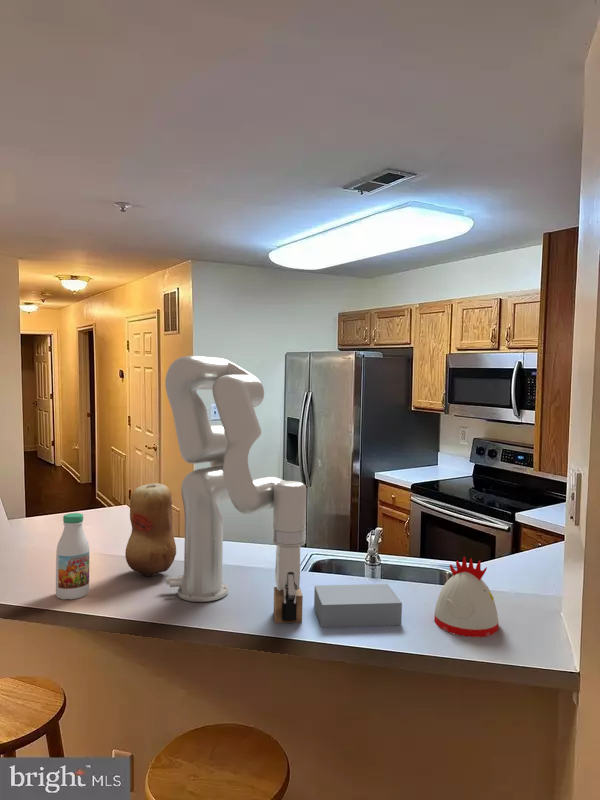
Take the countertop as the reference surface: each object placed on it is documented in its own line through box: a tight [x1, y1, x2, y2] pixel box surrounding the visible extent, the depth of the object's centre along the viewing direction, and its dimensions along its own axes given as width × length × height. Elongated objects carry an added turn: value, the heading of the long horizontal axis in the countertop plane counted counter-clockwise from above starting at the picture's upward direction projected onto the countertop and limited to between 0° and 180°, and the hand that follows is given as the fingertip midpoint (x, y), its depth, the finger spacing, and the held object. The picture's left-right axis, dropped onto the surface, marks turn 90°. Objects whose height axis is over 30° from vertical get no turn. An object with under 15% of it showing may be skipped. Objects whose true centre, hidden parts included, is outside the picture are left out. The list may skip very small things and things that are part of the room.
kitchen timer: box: [433, 556, 499, 638], centre depth 128 cm, size 14×14×15 cm
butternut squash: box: [124, 483, 177, 577], centre depth 156 cm, size 14×13×25 cm
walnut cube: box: [273, 585, 304, 624], centre depth 130 cm, size 6×6×6 cm
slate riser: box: [313, 583, 403, 628], centre depth 132 cm, size 18×12×5 cm, turn 96°
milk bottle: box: [55, 512, 90, 600], centre depth 140 cm, size 8×8×20 cm
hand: (287, 613), depth 130 cm, fingers closed on walnut cube, 6 cm apart
